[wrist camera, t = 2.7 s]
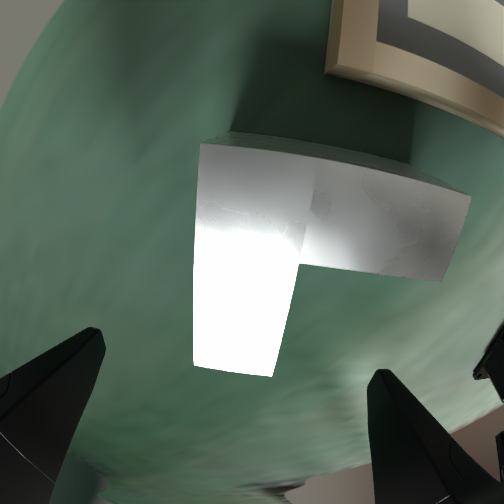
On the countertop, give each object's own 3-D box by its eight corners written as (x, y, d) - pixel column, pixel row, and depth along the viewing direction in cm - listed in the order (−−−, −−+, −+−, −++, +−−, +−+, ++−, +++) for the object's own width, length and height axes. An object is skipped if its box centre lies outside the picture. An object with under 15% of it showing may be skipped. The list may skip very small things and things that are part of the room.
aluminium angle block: (229, 131, 12) (200, 143, 7) (409, 164, 12) (471, 196, 7) (215, 293, 15) (194, 364, 11) (364, 311, 15) (388, 381, 11)
